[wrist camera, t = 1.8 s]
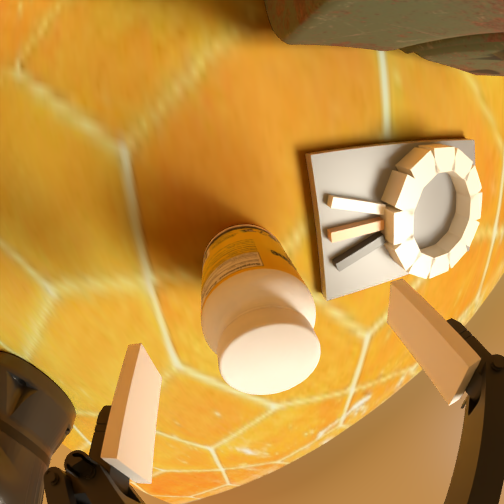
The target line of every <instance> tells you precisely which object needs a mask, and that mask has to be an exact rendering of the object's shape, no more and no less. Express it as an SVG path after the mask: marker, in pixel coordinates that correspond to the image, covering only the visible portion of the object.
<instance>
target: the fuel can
mask: <svg viewBox="0 0 504 504" xmlns="http://www.w3.org/2000/svg"><path fill="white" fill-rule="evenodd" d="M264 2H265V6H266V10H267V14H268V18H269V21H270V24H271V26H272V29H273V31H274V32H275V34H276V35H277V36H278V37H279V38H280V39H281V40H282V41H284V42H285V43H287V44H304V45H331V46H345V47H355V48H364V49H372V50H379V51H389V50H395V49H400V50H402V51H403V52H405V53H412V52H414V53H416V54H418V55H419V56H421V57H423V58H425V59H427V60H429V61H433V62H436V63H440V64H444V65H447V66H450V67H454V68H457V69H460V70H463V71H466V72H469V73H472V74H474V75H491V76H504V0H264Z"/></svg>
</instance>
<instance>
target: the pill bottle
mask: <svg viewBox="0 0 504 504" xmlns="http://www.w3.org/2000/svg"><path fill="white" fill-rule="evenodd" d="M315 318H316V310H315V304H314V300H313V298H312V295H311V293H310V291H309V290H308V288H307V286H306V285H305V283H304V281H303V280H302V278H301V277H300V275H299V273H298V272H297V270H296V268H295V267H294V265H293V264H292V262H291V260H290V259H289V257H288V256H287V254H286V252H285V251H284V249H283V248H282V246H281V244H280V243H279V242H278V240H277V239H276V238H275V237H274V236H273V235H272V234H271V233H270V232H269V231H267V230H265V229H264V228H261V227H259V226H255V225H250V224H242V225H235V226H232V227H229V228H226V229H224V230H223V231H221V232H219V233H218V234H217V235H216V236H215V237H214V238H213V239H212V240H211V241H210V243H209V244H208V246H207V248H206V250H205V253H204V257H203V266H202V291H201V324H202V331H203V334H204V337H205V340H206V342H207V343H208V345H209V347H210V348H211V349H212V350H213V351H214V352H215V353H216V354H217V355H218V364H219V370H220V373H221V375H222V377H223V379H224V380H225V381H226V382H227V383H228V384H229V385H230V386H231V387H233V388H235V389H237V390H239V391H241V392H244V393H249V394H256V395H266V394H274V393H279V392H282V391H285V390H288V389H290V388H292V387H294V386H296V385H298V384H299V383H301V382H302V381H303V380H305V379H306V378H307V377H308V376H309V375H310V374H311V373H312V372H313V370H314V369H315V367H316V366H317V364H318V361H319V358H320V352H321V351H320V343H319V340H318V338H317V336H316V334H315V332H314V329H313V328H314V324H315Z"/></svg>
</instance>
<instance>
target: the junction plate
mask: <svg viewBox="0 0 504 504" xmlns="http://www.w3.org/2000/svg"><path fill="white" fill-rule="evenodd" d="M305 157H306V163H307V169H308V176H309V183H310V190H311V197H312V204H313V212H314V220H315V228H316V237H317V246H318V255H319V266H320V277H321V288H322V294H323V296H324V297H325V299H326V300H327V301H328V300H331V299H334V298H338V297H341V296H344V295H347V294H351V293H354V292H357V291H360V290H363V289H366V288H369V287H372V286H375V285H378V284H381V283H384V282H387V281H390V280H393V279H396V278H399V277H402V276H404V275H407V274H413V275H416V276H419V277H422V278H425V279H426V278H427V277H428V278H432V277H434V276H437V275H439V274H442V273H444V272H446V271H448V268H449V267H450V268H452V267H453V266H454V265H455V264H456V263H457V262H458V260H459V259H460V258H461V257H462V256H463V255H464V254H465V253H466V252H467V251H469V248H470V244H471V242H472V240H473V237H474V235H475V233H476V230H477V228H478V225H479V222H478V221H476V220H477V219H480V217H481V205H482V192H480V190H481V188H482V187H481V183H480V180H479V177H478V173H477V170H476V167H475V145H474V140H471V139H434V140H417V141H403V142H391V143H381V144H371V145H363V146H354V147H347V148H339V149H332V150H325V151H319V152H312V153H306V154H305Z"/></svg>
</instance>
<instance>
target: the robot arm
mask: <svg viewBox="0 0 504 504" xmlns="http://www.w3.org/2000/svg"><path fill="white" fill-rule="evenodd" d="M387 323H388V324H389V325H390V327H391V328H392V329H393V330H394V332H395V333H396V334H397V336H398V337H399V338H400V339H401V341H402V342H403V343H404V345H405V346H406V347H407V349H408V350H409V351H410V353H411V354H412V355H413V357H414V358H415V359H416V361H417V362H418V363H419V365H420V366H421V367H422V369H423V370H424V371H425V373H426V374H427V376H428V377H429V378H430V380H431V381H432V383H433V384H434V385H435V387H436V388H437V390H438V391H439V392H440V394H441V395H442V397H443V398H444V400H445V401H446V403H447V404H448V405H451V404H452V403H454V402H456V401H457V400H459V399H460V398H461V397H462V395H463V393H464V391H466V392H467V393H468V396H467V397H466V399H465V401H464V402H463V404H462V407H461V408H464V406H465V404H466V408H465V416H464V424H463V429H462V435H461V441H460V446H459V451H458V456H457V460H456V464H455V468H454V472H453V476H452V479H451V483H450V487H449V490H448V493H447V496H446V499H445V502H444V504H498V503H499V499H500V495H501V490H502V486H503V481H504V357H503V356H501V355H498V354H496V355H491V354H490V353H489V352H488V351H487V350H486V349H485V348H484V347H483V346H482V344H481V343H480V342H479V341H478V340H477V339H476V338H475V337H474V336H472V334H471V333H470V332H469V331H467V329H466V328H465V327H464V326H463V325H462V324H461V323H460V322H458V321H456V320H454V319H452V318H451V319H449V320H447V321H446V320H445V319H444V318H443V317H442V316H441V315H440V314H439V313H438V312H437V311H436V310H435V309H434V308H433V307H432V306H431V305H430V304H429V303H428V302H427V301H426V300H425V299H424V298H422V297H421V296H420V295H419V294H418V293H417V292H416V291H415V290H414V289H413V288H412V287H411V286H410V285H409V284H408V283H407V282H406V281H404V280H403V279H400V280H397V281H394V282H391V287H390V299H389V309H388V319H387ZM161 381H162V377H161V376H160V374H159V372H158V371H157V369H156V367H155V366H154V364H153V362H152V361H151V359H150V357H149V356H148V354H147V352H146V350H145V349H144V347H143V345H142V343H139V344H132V345H128V349H127V352H126V355H125V359H124V362H123V365H122V369H121V372H120V376H119V380H118V383H117V387H116V391H115V394H114V398H113V402H112V405H111V406H104V407H103V408H102V410H101V411H100V413H99V415H98V419H97V425H96V427H95V432H94V435H93V439H92V443H91V448H90V452H89V456H88V455H87V454H86V453H85V452H83V451H80V450H75V451H73V452H71V453H69V454H68V455H67V457H66V459H65V462H64V467H65V470H66V472H64V471H62V470H61V469H59V468H57V467H51V468H49V464H50V460H51V456H52V455H53V453H54V452H55V451H56V450H57V448H58V447H59V446H60V444H61V443H62V442H63V440H64V439H65V437H66V436H67V435H68V434H69V433H70V432H71V430H72V428H73V424H74V421H75V417H76V412H75V409H74V406H73V404H72V403H71V401H70V400H69V398H68V397H67V396H66V394H65V393H64V392H63V391H62V390H61V389H60V388H59V387H58V386H57V385H56V384H55V383H54V382H53V381H52V380H51V379H49V378H48V377H47V376H46V375H45V374H43V373H42V372H41V371H39V370H38V369H36V368H35V367H33V366H32V365H30V364H29V363H27V362H25V361H24V360H22V359H20V358H18V357H16V356H14V355H11V354H8V353H4V352H0V504H42V501H43V494H44V489H45V493H46V498H47V502H48V504H145V503H144V501H143V500H142V499H141V498H140V497H139V495H138V494H137V493H136V491H135V490H134V489H133V487H132V486H131V485H129V479H131V480H133V481H134V482H136V483H148V484H152V468H153V454H154V442H155V432H156V422H157V413H158V404H159V396H160V388H161ZM48 468H49V469H48Z"/></svg>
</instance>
